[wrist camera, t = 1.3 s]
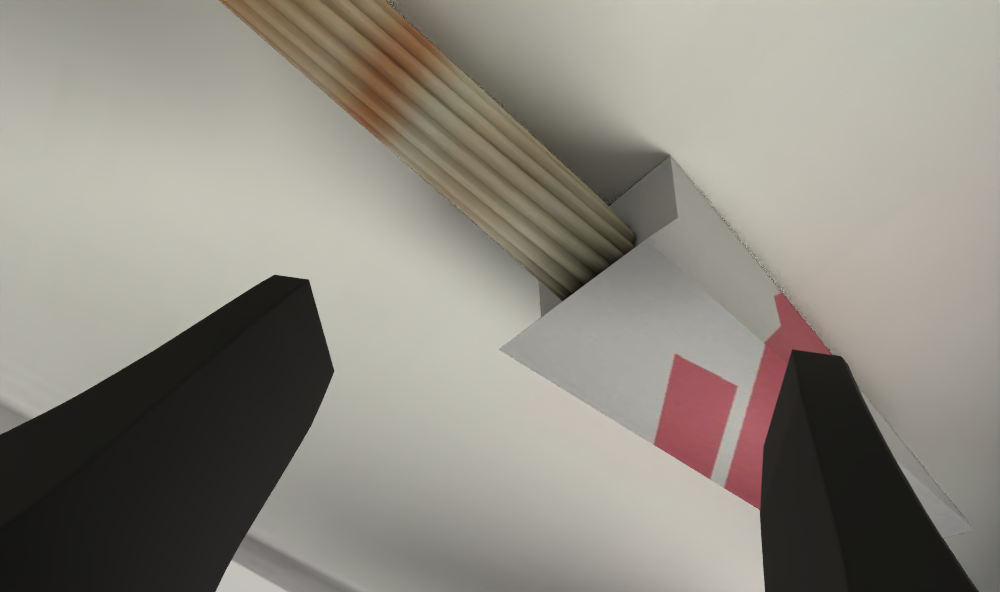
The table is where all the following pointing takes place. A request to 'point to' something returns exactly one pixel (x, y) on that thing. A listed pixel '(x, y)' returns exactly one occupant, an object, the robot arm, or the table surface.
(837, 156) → the table surface
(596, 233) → the paintbrush
